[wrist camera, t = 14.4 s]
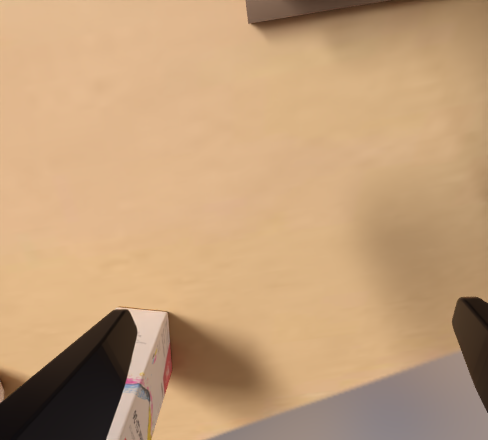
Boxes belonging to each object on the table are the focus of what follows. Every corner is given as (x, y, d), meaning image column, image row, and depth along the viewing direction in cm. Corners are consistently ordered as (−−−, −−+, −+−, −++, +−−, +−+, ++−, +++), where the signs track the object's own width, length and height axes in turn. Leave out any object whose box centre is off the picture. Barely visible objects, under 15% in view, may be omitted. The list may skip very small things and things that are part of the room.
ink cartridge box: (175, 369, 33) (112, 582, 21) (127, 363, 33) (36, 570, 21) (170, 310, 28) (86, 536, 16) (115, 303, 29) (-11, 522, 16)
